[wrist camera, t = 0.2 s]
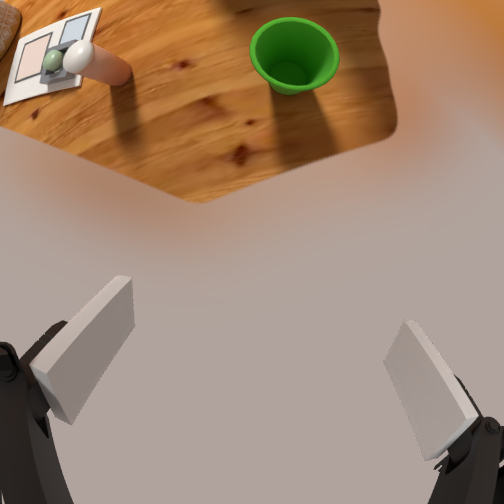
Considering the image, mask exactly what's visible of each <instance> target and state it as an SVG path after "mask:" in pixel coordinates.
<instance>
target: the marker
mask: <svg viewBox="0 0 504 504" xmlns="http://www.w3.org/2000/svg"><path fill="white" fill-rule="evenodd" d="M63 68H64V69H65V70H66V71H67V72H71V73H74V74H77V75H80V76H84V77H87V78H90V79H93V80H96V81H99V82H102V83H105V84H107V85H111V86H121V85H123V84H125V83H126V82H127V81H128V80H129V79H130V77H131V74H132V68H131V66H130V65H129V64H128V63H127V62H126V61H125V60H123V59H121V58H119V57H117V56H116V55H114V54H112V53H110V52H108V51H106V50H105V49H103V48H101V47H99V46H97V45H95V44H93V43H91V42H89V41H87V40H79V41H77V42H75V43H74V44H73V45H71V47H70V48H69V49H68V50H67V52H66V54H65V56H64V59H63Z"/></svg>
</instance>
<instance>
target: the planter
mask: <svg viewBox="0 0 504 504" xmlns="http://www.w3.org/2000/svg"><path fill="white" fill-rule="evenodd" d="M20 19H21V14H20V11H19V10H18V9H17V8H15V7H13V6H11V5H9V4H7V3H5V2H3V1H0V60H1V58H2V57H3V56H4V54H5V53H6V51H7V50H8V48H9V47H10V45H11V43H12V41H13V39H14V37H15V35H16V33H17V30H18V27H19V24H20Z"/></svg>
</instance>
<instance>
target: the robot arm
mask: <svg viewBox="0 0 504 504" xmlns="http://www.w3.org/2000/svg"><path fill="white" fill-rule="evenodd" d="M134 327H135V323H134V310H133V291H132V278H130V277H126V276H121V275H117V276H116V277H115V278H114V279H113V280H112V281H111V282H109V283H108V284H107V285H106V286H105V287H104V288H103V289H102V290H101V291H100V292H99V293H98V294H97V295H96V296H95V297H94V298H93V299H91V300H90V301H89V302H88V303H87V304H86V305H85V306H84V307H83V308H82V309H81V310H80V311H79V312H78V313H77V314H76V315H75V316H74V317H73V318H72V319H71V320H70V321H69V322H66V321H60V322H59V323H56V324H54V325H53V326H51V327H50V328H49V329H48V330H47V331H46V332H45V335H42V336H41V338H39V341H37V342H35V343H34V345H33V346H32V347H31V348H30V349H29V350H28V351H27V352H26V353H25V354H24V355H23V356H22V357H21V358H20V359H18V356H17V354H16V351H15V349H14V347H13V346H12V345H11V344H9V343H7V342H0V504H2V495H3V499H4V502H5V504H74V503H73V501H72V498H71V496H70V493H69V490H68V488H67V485H66V482H65V479H64V476H63V473H62V470H61V467H60V463H59V460H58V457H57V453H56V450H55V445H54V441H53V437H52V433H51V428H50V423H49V419H48V416H47V414H46V413H47V412H48V410H49V409H50V408H51V410H52V412H53V413H54V415H55V417H57V418H58V419H60V420H62V421H64V422H66V423H68V424H70V425H72V424H73V422H74V421H75V419H76V417H77V415H78V414H79V412H80V410H81V409H82V407H83V405H84V404H85V402H86V400H87V399H88V397H89V396H90V394H91V392H92V391H93V389H94V388H95V386H96V384H97V383H98V381H99V380H100V378H101V376H102V375H103V373H104V371H105V370H106V369H107V367H108V365H109V364H110V363H111V361H112V359H113V358H114V356H115V355H116V353H117V352H118V350H119V349H120V347H121V346H122V344H123V343H124V341H125V340H126V338H127V337H128V336H129V334H130V332H131V331H132V329H133V328H134ZM384 364H385V366H386V369H387V371H388V373H389V375H390V377H391V379H392V382H393V384H394V386H395V388H396V390H397V393H398V395H399V397H400V399H401V402H402V404H403V407H404V409H405V411H406V414H407V416H408V419H409V421H410V423H411V426H412V428H413V431H414V433H415V436H416V439H417V441H418V443H419V446H420V449H421V452H422V454H423V457H424V459H425V461H428V460H432V459H435V458H438V457H439V456H440V455H441V454H443V453H444V452H445V451H446V450H448V453H449V454H448V455H447V456H446V457H445V458H444V459H443V460H442V461H440V462H439V463H438V464H437V465H436V466H435V468H434V470H436V469H437V468H438V467H439V466H440V465H442V467H441V468H440V469H439V470H438V471H439V472H440V473H439V476H438V479H437V482H436V484H435V487H434V490H433V492H432V495H431V498H430V499H429V502H428V504H504V465H503V466H502V467H501V468H500V467H499V463H500V462H501V461H503V460H504V426H500V424H499V423H498V422H497V420H495V419H494V418H492V417H485V418H484V417H483V416H482V414H481V412H480V411H479V409H478V407H477V406H476V404H475V403H474V401H473V399H472V397H471V396H469V393H468V391H467V389H466V390H465V386H464V385H463V383H462V382H461V380H460V379H459V378H458V377H456V376H455V375H454V374H453V373H452V372H451V370H450V369H449V367H448V366H447V364H446V363H445V362H444V360H443V358H442V357H441V355H440V354H439V352H438V351H437V350H436V348H435V347H434V346H433V344H432V343H431V341H430V340H429V339H428V337H427V336H426V334H425V333H424V332H423V331H422V329H421V328H420V326H419V325H418V324H417V322H416V321H410V320H404V321H403V324H402V326H401V328H400V330H399V332H398V334H397V336H396V339H395V340H394V342H393V345H392V346H391V348H390V350H389V352H388V354H387V356H386V358H385V360H384ZM1 490H2V492H1Z"/></svg>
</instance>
